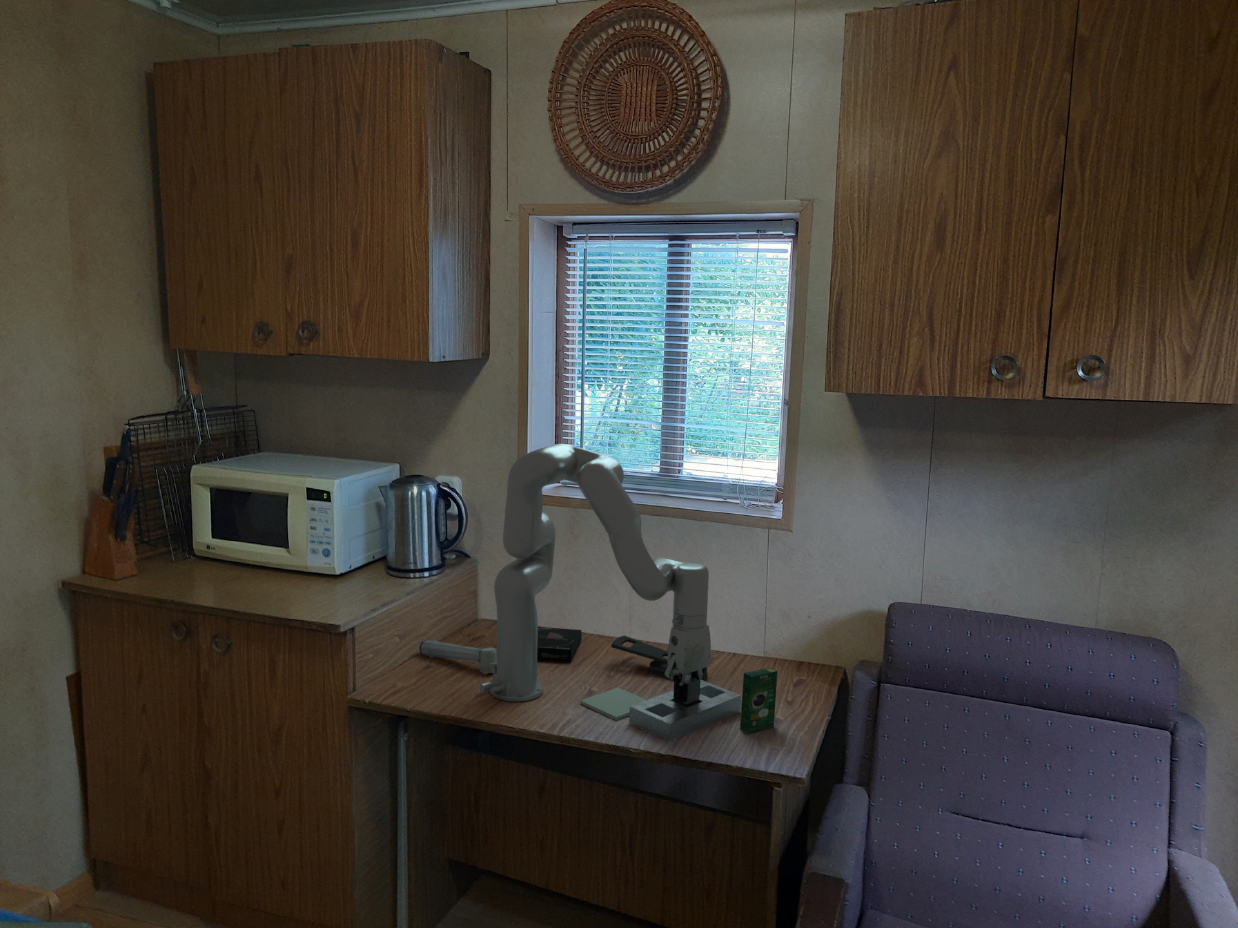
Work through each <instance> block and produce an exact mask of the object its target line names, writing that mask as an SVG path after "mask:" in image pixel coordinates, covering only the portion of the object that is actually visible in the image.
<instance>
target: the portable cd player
mask: <svg viewBox="0 0 1238 928" xmlns="http://www.w3.org/2000/svg"><path fill="white" fill-rule="evenodd" d="M581 644H582V629H576V628H575V629H573V628H560V627H559V628H558V627H545V626H544V627H543V626H542V627H541V626H538V645H537V662H538V661H539V662H548V663H551V662H553V663H565V664H572V663H573V660H574V658H575V655H576V654H577V652H578V649H579V647H580V645H581Z"/></svg>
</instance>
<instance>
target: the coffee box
mask: <svg viewBox="0 0 1238 928" xmlns="http://www.w3.org/2000/svg"><path fill="white" fill-rule="evenodd" d="M777 682H778V670H776V669H774V668H771V667H766V668H762V669H758V670H752V671H747V672H743V680H742V695H741V706H740V723H739V724H740V725H739V726H740V727H739V729H740V731H741V732H743V733H746V734H750V733H755V732H757V731H760V730H765V729H769V728H771V727H774V726H775V712H776V700H777V687H778V686H777V684H778V683H777Z"/></svg>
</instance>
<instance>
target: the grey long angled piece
mask: <svg viewBox="0 0 1238 928" xmlns="http://www.w3.org/2000/svg"><path fill="white" fill-rule="evenodd" d="M418 649H419V654H420V655H422V656H426V657H431V658H432V659H433V658H442V659H454V660H467V661H476V662H477V666H479V672H480V673H482V675H488V674H492V675H495V674H497V648H495V647H485V648H477V647H472V646H466V645H461V644H460V645H459V644H454V643H450V642H443V641H438V640H437V639H434V640H424V641H421V643H420V645H419V648H418Z"/></svg>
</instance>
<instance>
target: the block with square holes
mask: <svg viewBox="0 0 1238 928" xmlns="http://www.w3.org/2000/svg"><path fill="white" fill-rule="evenodd" d="M673 696H674V689H672V690H670V691H668V692H665V693H662V694H660V695H656V696H654V697H651V698H648V699H646V700H645V701H643V702H640V703H637V704H635V705H632V706H630V711H629V716H628V717H629V718H628V724H629V725H630V726H631V725H632V726H633V725H634V726H633V727H635V726H636V728H638V729H640V728H642V729H643V731H644V730H646V731H647V733H648V732H650V733H649V734H651V733H652V734H651V735H653V734H654V735H653V736H655V735H656V736H655V737H657V736H658V737H657V738H659V737H661V738H662V739H661V738H660V739H661V740H664V739H665V740H664V741H666V742H668V741H670V742H672V741H674V739H675V740H678V739H680V738H681V737H683V736H687V735H689V734H691V733H694V732H696V731H698V730H701V729H703V728H705V727H708V726H709V725H712V724H714V723H717V722H719V721H722V720H724V719H726V718H729V717H731V716H734V715H736V714H738V713H741V706H742V695H741V694H739V693H736V692H734V691H731V690H729V689H726V688H723V687H721V686H719V685H715V684H713V683H710V682H707V681H706V680H705V681H703V680H700V696H699V703H698V704H695V705H693V706H690V707H685V706H682V705H680V704H678V703H675V702H674V698H673ZM642 729H641V730H642ZM646 731H645V732H646Z"/></svg>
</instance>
